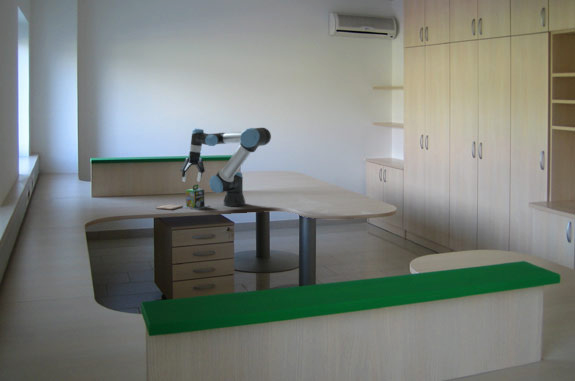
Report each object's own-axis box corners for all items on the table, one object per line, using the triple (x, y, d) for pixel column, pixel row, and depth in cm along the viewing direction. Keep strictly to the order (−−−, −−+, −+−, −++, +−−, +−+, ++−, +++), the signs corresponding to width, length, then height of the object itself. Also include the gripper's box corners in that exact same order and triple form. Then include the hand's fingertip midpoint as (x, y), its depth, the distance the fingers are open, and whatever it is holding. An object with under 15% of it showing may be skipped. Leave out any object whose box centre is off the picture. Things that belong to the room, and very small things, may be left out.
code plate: (209, 205, 435) (209, 205, 435) (198, 209, 423) (198, 208, 423) (192, 204, 441) (192, 204, 441) (180, 207, 429) (180, 207, 429)
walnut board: (183, 207, 432) (183, 205, 432) (172, 210, 420) (171, 208, 420) (167, 205, 437) (167, 204, 437) (155, 208, 426) (155, 207, 426)
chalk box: (195, 204, 438) (195, 183, 436) (205, 206, 432) (204, 184, 430) (185, 206, 431) (185, 184, 429) (195, 207, 425) (194, 186, 423)
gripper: (205, 151, 447) (201, 180, 450) (177, 149, 428) (173, 180, 431) (212, 152, 442) (208, 182, 445) (184, 151, 423) (180, 182, 426)
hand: (191, 181), depth 438 cm, fingers open, 13 cm apart
